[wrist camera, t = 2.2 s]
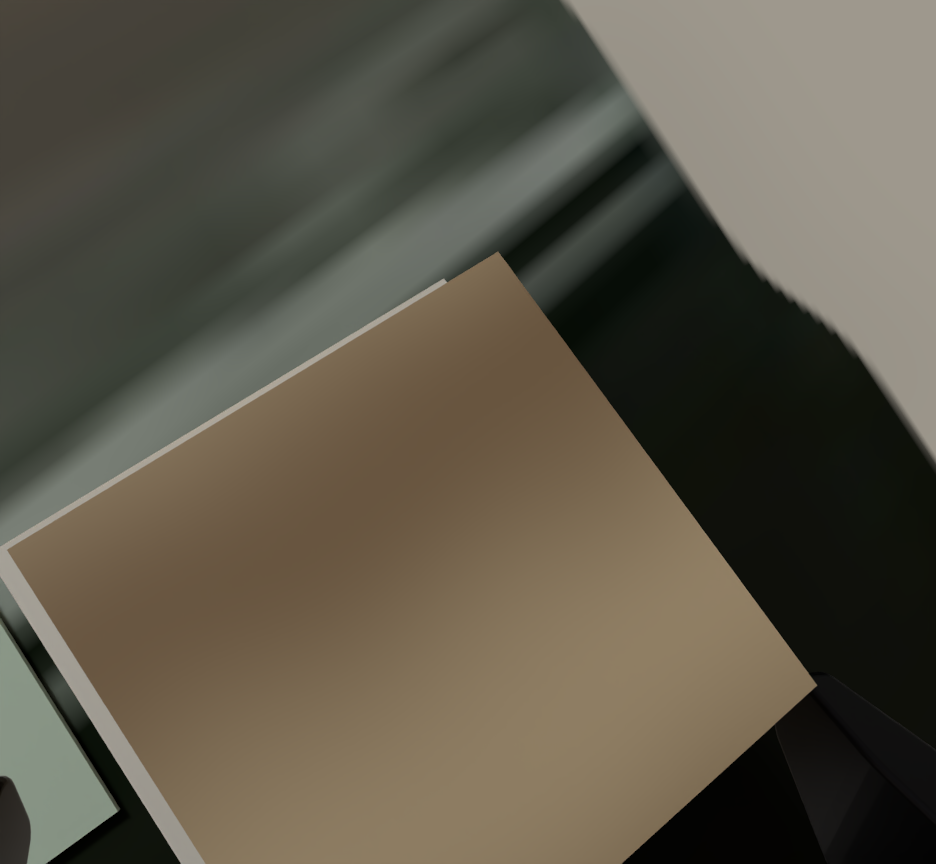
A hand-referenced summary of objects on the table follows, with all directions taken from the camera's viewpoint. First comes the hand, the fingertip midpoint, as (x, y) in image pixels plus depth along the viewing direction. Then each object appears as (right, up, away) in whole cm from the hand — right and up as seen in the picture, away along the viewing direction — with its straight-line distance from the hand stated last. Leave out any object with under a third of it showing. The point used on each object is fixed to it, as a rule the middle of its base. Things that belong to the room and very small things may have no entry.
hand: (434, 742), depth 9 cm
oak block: (-2, -1, +9) cm, 9 cm away
